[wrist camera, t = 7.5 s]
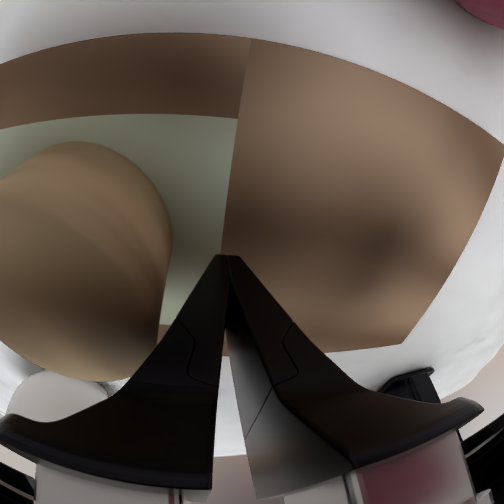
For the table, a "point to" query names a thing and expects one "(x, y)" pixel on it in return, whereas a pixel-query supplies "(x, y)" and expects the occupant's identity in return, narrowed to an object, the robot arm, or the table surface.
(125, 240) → the oak puck
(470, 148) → the walnut board
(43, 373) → the lidded jar
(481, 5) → the plant pot
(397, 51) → the table surface
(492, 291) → the table surface
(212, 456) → the robot arm
